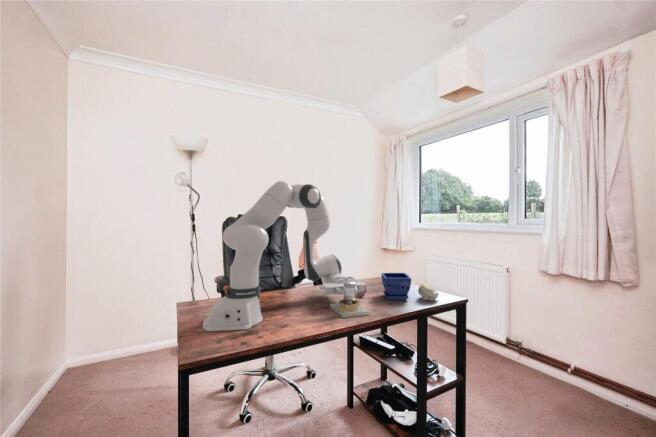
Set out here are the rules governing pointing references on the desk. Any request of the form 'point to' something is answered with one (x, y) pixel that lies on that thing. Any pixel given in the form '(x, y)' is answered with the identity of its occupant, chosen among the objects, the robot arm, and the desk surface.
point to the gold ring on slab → (349, 309)
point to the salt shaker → (349, 292)
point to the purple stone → (362, 292)
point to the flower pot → (396, 285)
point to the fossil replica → (427, 292)
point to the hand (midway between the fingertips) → (350, 292)
